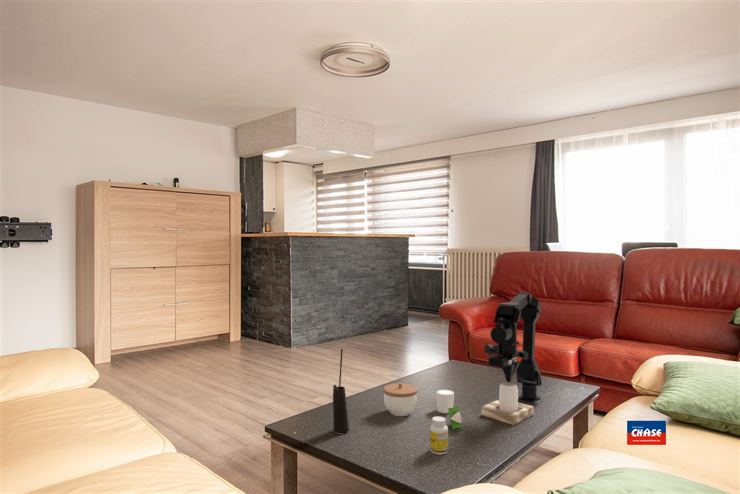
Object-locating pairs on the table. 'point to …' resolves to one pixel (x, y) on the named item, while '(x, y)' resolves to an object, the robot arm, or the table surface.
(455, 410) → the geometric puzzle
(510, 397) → the can
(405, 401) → the lidded bowl
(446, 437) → the supplement bottle
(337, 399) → the butter churn
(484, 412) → the frame
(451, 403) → the white cup
